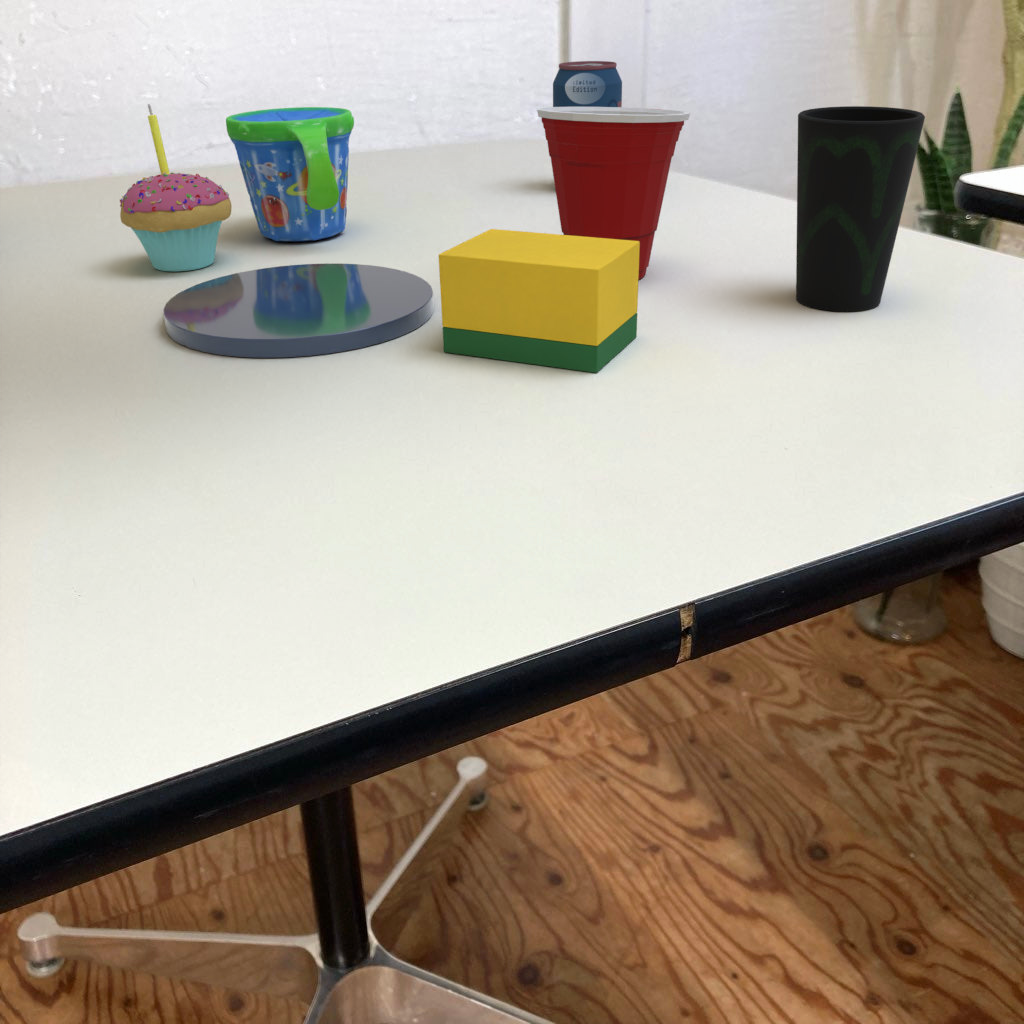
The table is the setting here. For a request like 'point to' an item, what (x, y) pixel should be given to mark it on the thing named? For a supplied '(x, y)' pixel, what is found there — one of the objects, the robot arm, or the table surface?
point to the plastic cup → (611, 169)
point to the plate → (298, 310)
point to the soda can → (587, 85)
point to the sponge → (540, 298)
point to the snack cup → (295, 169)
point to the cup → (850, 201)
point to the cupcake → (175, 214)
